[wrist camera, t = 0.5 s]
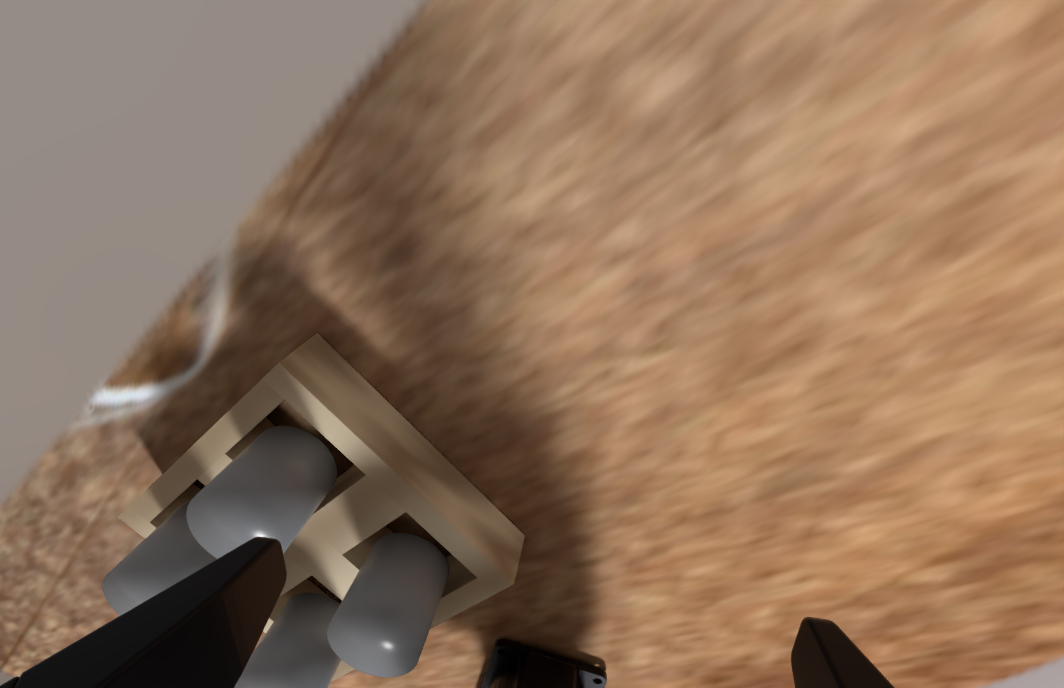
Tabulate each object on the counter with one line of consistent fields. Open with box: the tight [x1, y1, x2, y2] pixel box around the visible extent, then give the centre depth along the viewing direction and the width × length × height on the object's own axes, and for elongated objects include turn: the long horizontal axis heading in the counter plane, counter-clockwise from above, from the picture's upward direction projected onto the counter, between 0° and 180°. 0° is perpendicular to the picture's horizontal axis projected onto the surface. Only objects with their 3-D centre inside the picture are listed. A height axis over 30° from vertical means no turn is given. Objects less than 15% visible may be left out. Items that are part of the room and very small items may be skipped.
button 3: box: [327, 533, 449, 677], centre depth 23 cm, size 4×4×4 cm
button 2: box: [102, 501, 217, 616], centre depth 24 cm, size 4×4×4 cm
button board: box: [119, 333, 525, 681], centre depth 27 cm, size 14×14×3 cm
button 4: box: [234, 592, 341, 688], centre depth 26 cm, size 4×4×4 cm
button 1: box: [186, 426, 337, 559], centre depth 22 cm, size 4×4×4 cm
